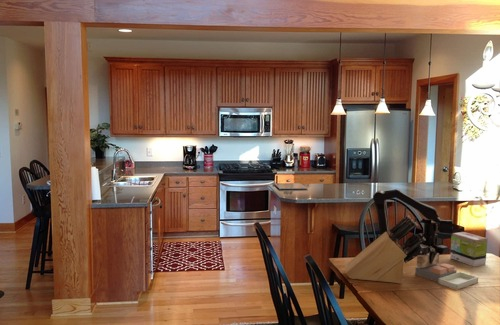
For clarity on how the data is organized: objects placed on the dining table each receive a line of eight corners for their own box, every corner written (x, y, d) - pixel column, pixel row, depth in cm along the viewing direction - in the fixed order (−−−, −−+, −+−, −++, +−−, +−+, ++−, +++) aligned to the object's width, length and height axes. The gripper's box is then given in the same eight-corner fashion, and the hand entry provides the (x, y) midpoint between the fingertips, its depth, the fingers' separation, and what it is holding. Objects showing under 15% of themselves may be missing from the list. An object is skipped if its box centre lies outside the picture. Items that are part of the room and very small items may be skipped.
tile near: (440, 274, 197) (440, 270, 197) (430, 271, 201) (430, 267, 201) (446, 272, 200) (446, 268, 199) (436, 269, 204) (436, 265, 204)
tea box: (449, 258, 233) (450, 232, 232) (461, 256, 238) (463, 231, 236) (473, 267, 220) (475, 239, 218) (486, 264, 224) (488, 237, 223)
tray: (456, 290, 187) (456, 284, 187) (438, 283, 195) (438, 278, 194) (477, 282, 197) (478, 277, 197) (459, 276, 205) (459, 271, 204)
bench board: (439, 282, 196) (439, 275, 196) (415, 274, 207) (415, 267, 207) (456, 277, 204) (456, 270, 204) (431, 269, 215) (432, 262, 214)
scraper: (421, 267, 204) (422, 257, 203) (416, 266, 206) (417, 256, 206) (438, 263, 211) (439, 253, 211) (433, 261, 214) (433, 252, 214)
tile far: (448, 271, 201) (448, 267, 201) (439, 268, 205) (439, 264, 205) (454, 270, 203) (454, 266, 203) (444, 267, 208) (445, 263, 207)
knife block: (424, 286, 191) (427, 220, 188) (345, 279, 198) (347, 215, 196) (419, 278, 202) (422, 215, 199) (344, 271, 209) (347, 210, 207)
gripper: (456, 234, 204) (454, 265, 205) (422, 226, 220) (421, 255, 221) (443, 237, 198) (441, 269, 199) (409, 228, 214) (407, 258, 215)
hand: (427, 262), depth 209 cm, fingers closed on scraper, 3 cm apart
